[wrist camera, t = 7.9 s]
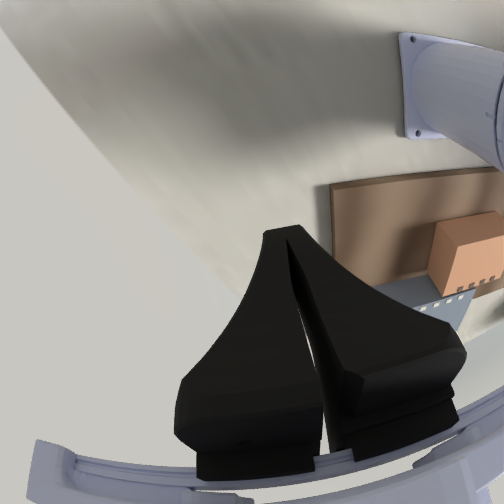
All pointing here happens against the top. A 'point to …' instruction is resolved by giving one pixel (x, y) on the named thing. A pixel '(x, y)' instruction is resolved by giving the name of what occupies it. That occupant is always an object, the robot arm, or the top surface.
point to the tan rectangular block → (467, 252)
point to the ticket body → (429, 298)
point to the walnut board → (406, 220)
